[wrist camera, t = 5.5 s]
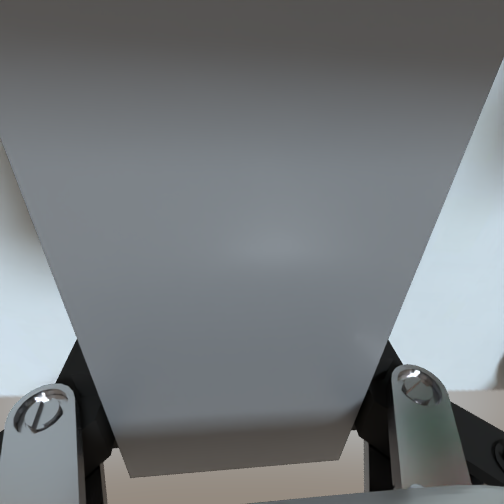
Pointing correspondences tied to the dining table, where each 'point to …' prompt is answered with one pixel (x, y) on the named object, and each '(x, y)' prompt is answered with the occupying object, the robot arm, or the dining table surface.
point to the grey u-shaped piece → (238, 201)
